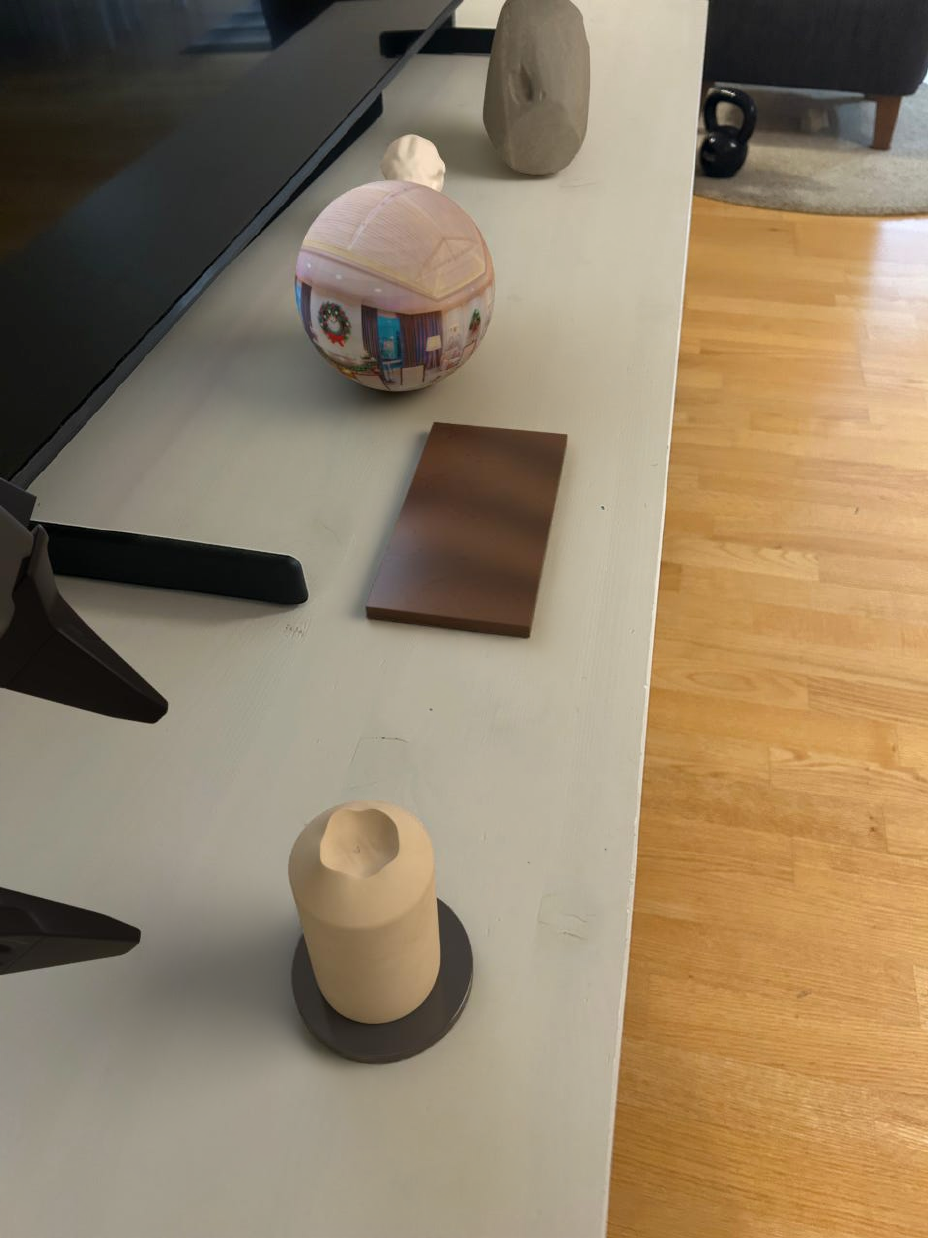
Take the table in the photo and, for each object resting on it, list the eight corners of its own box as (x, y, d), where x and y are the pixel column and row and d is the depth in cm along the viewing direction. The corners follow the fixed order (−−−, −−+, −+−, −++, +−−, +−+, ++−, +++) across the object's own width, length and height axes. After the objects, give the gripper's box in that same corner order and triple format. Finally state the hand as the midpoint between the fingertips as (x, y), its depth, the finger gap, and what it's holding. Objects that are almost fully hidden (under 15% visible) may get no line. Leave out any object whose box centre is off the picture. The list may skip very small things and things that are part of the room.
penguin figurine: (445, 127, 94) (430, 188, 87) (449, 212, 101) (434, 275, 93) (381, 125, 95) (360, 186, 87) (388, 210, 101) (369, 273, 94)
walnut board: (529, 638, 58) (530, 626, 57) (366, 618, 59) (365, 606, 59) (567, 445, 72) (567, 433, 71) (433, 432, 73) (433, 421, 73)
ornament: (297, 344, 83) (269, 160, 72) (468, 320, 85) (466, 139, 75) (323, 443, 72) (295, 245, 62) (517, 412, 75) (522, 217, 64)
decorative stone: (481, 183, 107) (480, 27, 96) (485, 128, 119) (484, -16, 108) (591, 183, 106) (603, 26, 96) (584, 127, 118) (593, -17, 108)
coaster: (350, 1103, 40) (348, 1097, 39) (262, 950, 44) (259, 942, 44) (509, 994, 43) (509, 985, 42) (411, 861, 48) (410, 852, 47)
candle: (353, 1052, 40) (325, 936, 33) (294, 947, 44) (257, 821, 37) (464, 980, 42) (460, 857, 35) (400, 885, 46) (385, 755, 39)
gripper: (-549, 754, 15) (293, 986, 23) (-150, 230, 28) (294, 503, 36) (-675, 1035, 20) (57, 1140, 28) (-286, 478, 33) (133, 666, 41)
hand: (149, 817), depth 33 cm, fingers open, 9 cm apart
